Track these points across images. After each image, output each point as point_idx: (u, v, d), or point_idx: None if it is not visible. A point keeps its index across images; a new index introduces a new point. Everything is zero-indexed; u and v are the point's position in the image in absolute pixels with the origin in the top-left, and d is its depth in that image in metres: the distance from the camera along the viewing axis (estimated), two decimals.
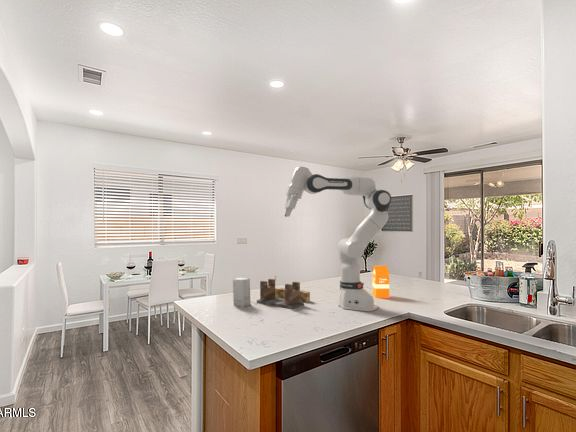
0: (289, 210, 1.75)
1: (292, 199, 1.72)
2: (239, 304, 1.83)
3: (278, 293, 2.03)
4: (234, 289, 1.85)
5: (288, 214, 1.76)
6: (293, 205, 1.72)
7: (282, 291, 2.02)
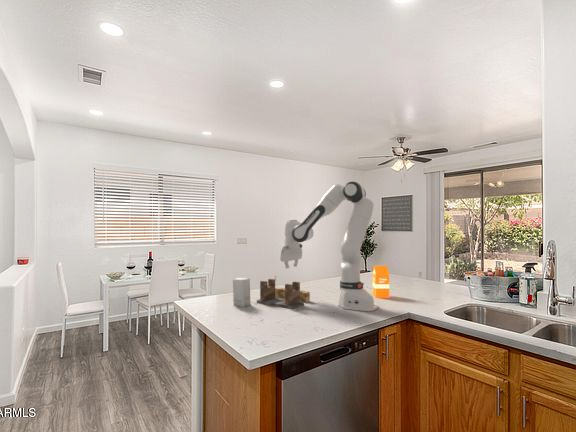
0: (285, 263, 1.96)
1: (281, 254, 1.93)
2: (239, 304, 1.83)
3: (278, 293, 2.03)
4: (234, 289, 1.85)
5: (286, 266, 1.96)
6: (283, 259, 1.92)
7: (282, 291, 2.02)
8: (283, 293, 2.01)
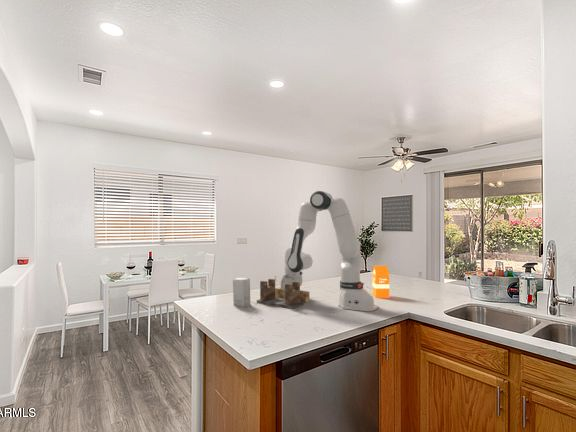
0: None
1: (281, 283, 1.93)
2: (239, 304, 1.83)
3: (278, 293, 2.04)
4: (234, 289, 1.85)
5: None
6: (283, 288, 1.92)
7: (282, 291, 2.02)
8: (283, 293, 2.01)
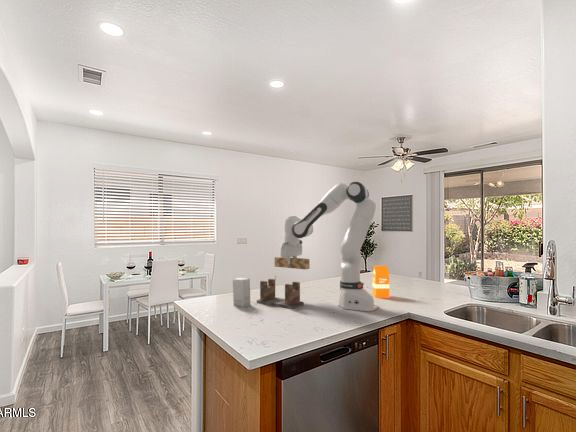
0: (287, 259, 1.97)
1: (281, 250, 1.93)
2: (239, 304, 1.83)
3: (278, 262, 2.04)
4: (234, 289, 1.85)
5: (288, 262, 1.98)
6: (283, 255, 1.92)
7: (282, 259, 2.02)
8: (283, 261, 2.02)
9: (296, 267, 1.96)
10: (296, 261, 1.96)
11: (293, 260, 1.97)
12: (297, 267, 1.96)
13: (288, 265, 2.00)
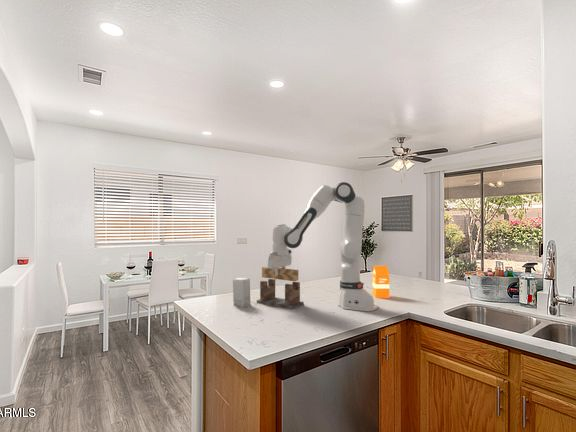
0: (275, 270, 1.86)
1: (268, 260, 1.82)
2: (239, 304, 1.83)
3: (266, 272, 1.93)
4: (234, 289, 1.85)
5: (276, 273, 1.87)
6: (270, 266, 1.81)
7: (270, 270, 1.91)
8: (271, 272, 1.91)
9: (284, 278, 1.85)
10: (284, 272, 1.85)
11: (281, 271, 1.87)
12: (285, 278, 1.85)
13: (276, 276, 1.89)
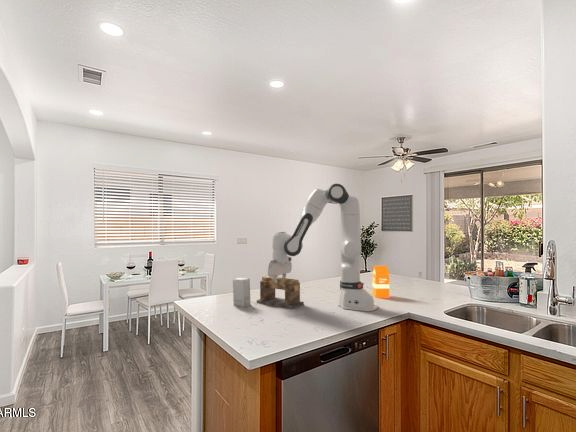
0: (274, 277, 1.85)
1: (268, 268, 1.82)
2: (239, 304, 1.83)
3: None
4: (234, 289, 1.85)
5: (275, 281, 1.86)
6: (270, 274, 1.81)
7: (270, 279, 1.91)
8: (271, 282, 1.91)
9: (284, 288, 1.85)
10: (285, 282, 1.85)
11: (281, 281, 1.86)
12: None
13: (276, 286, 1.89)
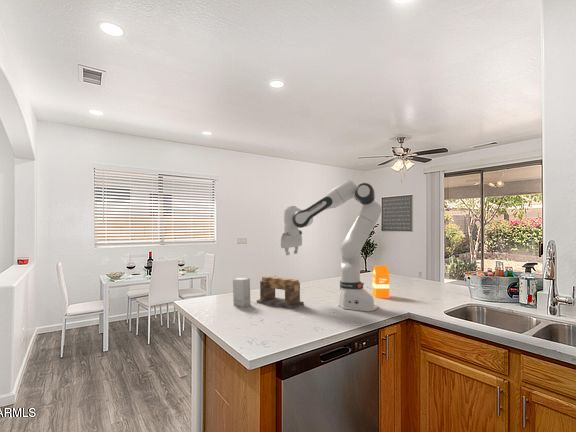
0: (285, 250, 1.93)
1: (281, 240, 1.91)
2: (239, 304, 1.83)
3: None
4: (234, 289, 1.85)
5: (287, 253, 1.93)
6: (283, 245, 1.89)
7: (270, 279, 1.91)
8: (271, 282, 1.91)
9: (284, 288, 1.85)
10: (285, 282, 1.85)
11: (281, 281, 1.86)
12: None
13: (276, 286, 1.89)
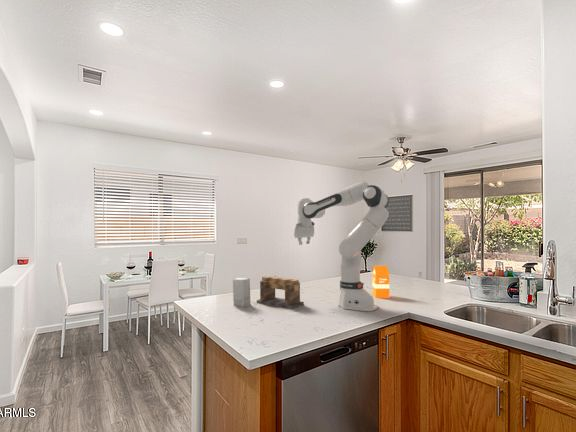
0: (298, 239, 2.03)
1: (295, 230, 2.01)
2: (239, 304, 1.83)
3: None
4: (234, 289, 1.85)
5: (300, 243, 2.04)
6: (297, 235, 2.00)
7: (270, 279, 1.91)
8: (271, 282, 1.91)
9: (284, 288, 1.85)
10: (285, 282, 1.85)
11: (281, 281, 1.86)
12: None
13: (276, 286, 1.89)
